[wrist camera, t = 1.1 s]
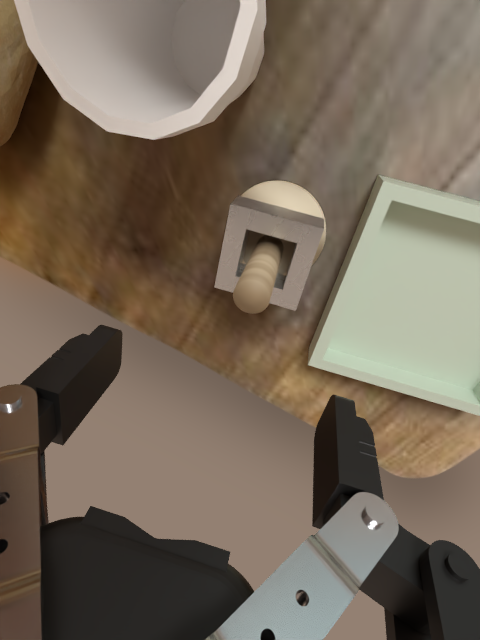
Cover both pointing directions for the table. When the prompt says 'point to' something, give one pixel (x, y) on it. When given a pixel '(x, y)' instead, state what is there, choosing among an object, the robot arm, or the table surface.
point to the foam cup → (147, 58)
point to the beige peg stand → (271, 245)
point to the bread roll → (13, 69)
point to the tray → (408, 298)
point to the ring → (278, 225)
